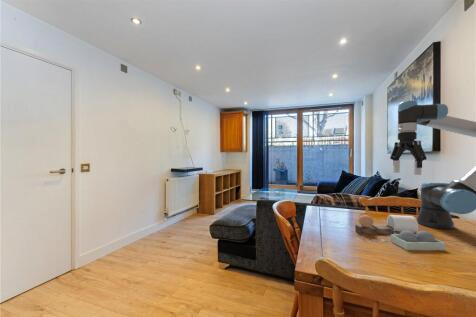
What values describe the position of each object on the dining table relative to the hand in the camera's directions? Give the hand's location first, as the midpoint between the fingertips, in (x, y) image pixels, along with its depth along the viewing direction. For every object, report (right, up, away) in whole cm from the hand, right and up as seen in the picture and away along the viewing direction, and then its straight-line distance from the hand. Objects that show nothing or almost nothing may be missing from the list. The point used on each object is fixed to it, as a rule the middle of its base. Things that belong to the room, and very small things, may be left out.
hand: (406, 173), depth 108 cm
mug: (-4, -29, -1) cm, 29 cm away
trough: (-12, -29, -21) cm, 38 cm away
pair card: (-24, -29, -15) cm, 41 cm away
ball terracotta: (-24, -26, -6) cm, 36 cm away
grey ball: (-9, -28, -21) cm, 36 cm away
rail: (-20, -29, -6) cm, 35 cm away
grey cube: (-16, -28, -21) cm, 38 cm away
